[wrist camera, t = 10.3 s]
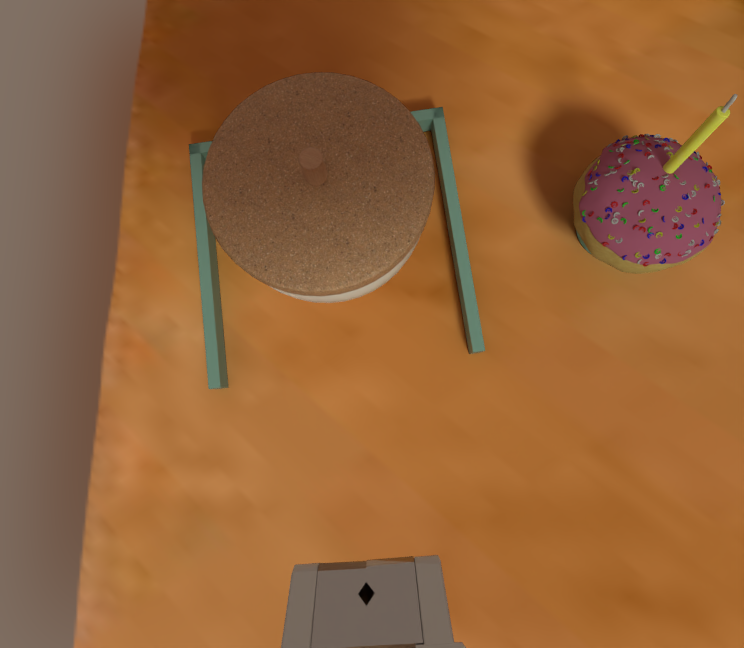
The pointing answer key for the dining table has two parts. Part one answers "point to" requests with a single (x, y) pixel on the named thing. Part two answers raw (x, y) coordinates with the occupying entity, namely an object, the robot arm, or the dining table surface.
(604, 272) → the dining table surface
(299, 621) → the robot arm
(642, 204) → the cupcake
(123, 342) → the dining table surface
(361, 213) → the lidded bowl
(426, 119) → the teal u-shaped frame
